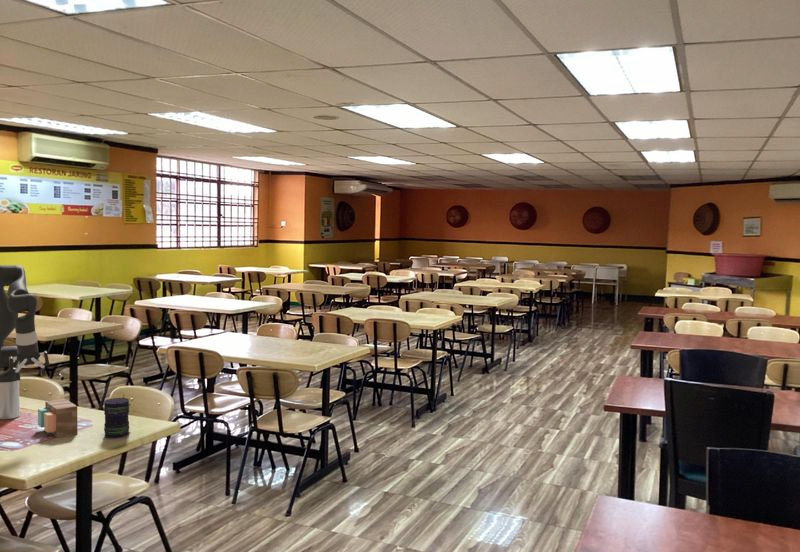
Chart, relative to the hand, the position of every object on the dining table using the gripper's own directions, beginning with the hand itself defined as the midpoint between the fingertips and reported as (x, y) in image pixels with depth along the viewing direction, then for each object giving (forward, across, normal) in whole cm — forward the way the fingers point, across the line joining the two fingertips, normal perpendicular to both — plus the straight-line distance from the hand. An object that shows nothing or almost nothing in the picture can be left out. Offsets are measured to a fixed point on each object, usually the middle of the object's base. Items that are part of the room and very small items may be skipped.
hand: (31, 377), depth 268 cm
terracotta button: (+23, -6, +5) cm, 24 cm away
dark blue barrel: (+26, -28, +19) cm, 42 cm away
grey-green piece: (+25, -4, -4) cm, 25 cm away
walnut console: (+27, -9, 0) cm, 28 cm away
